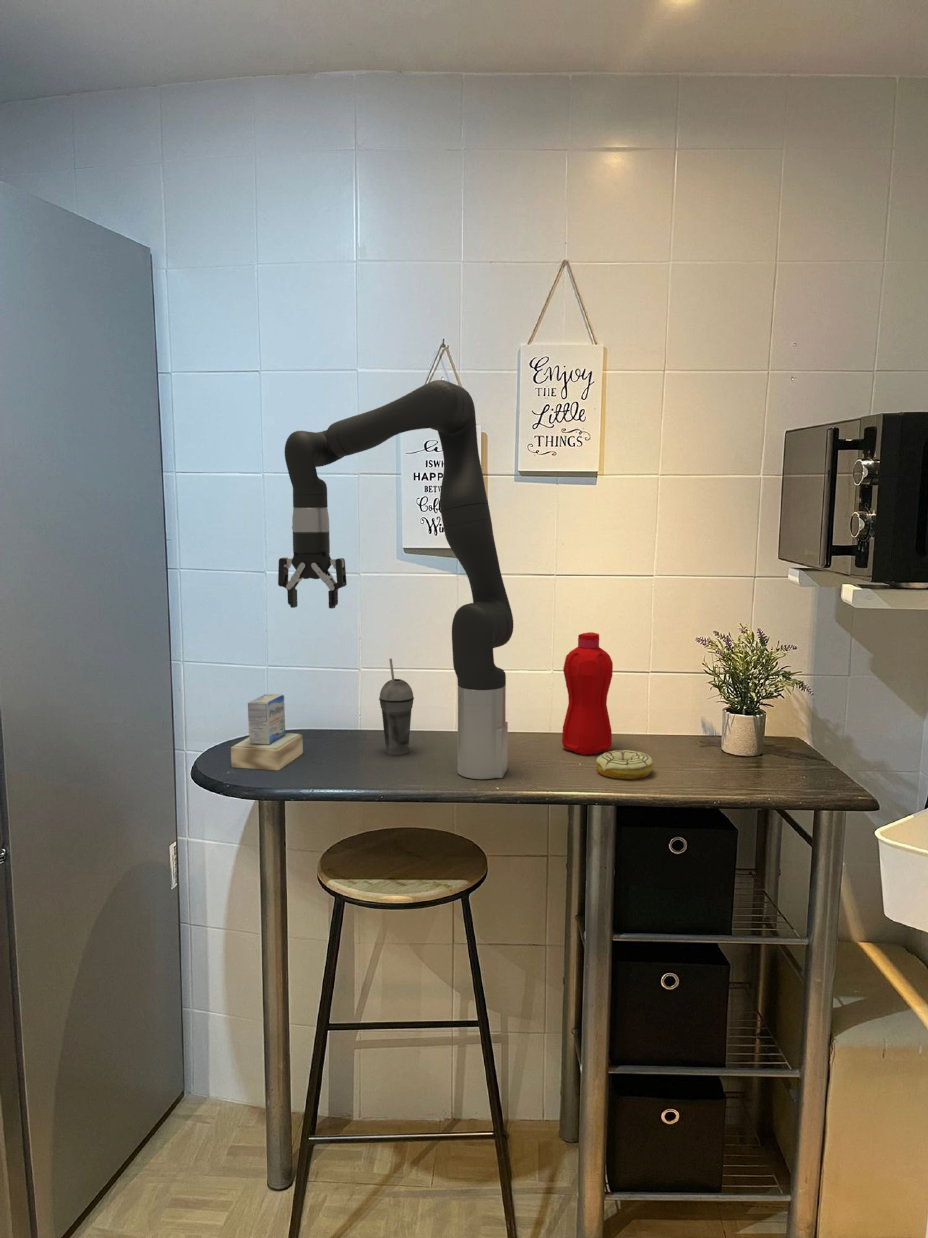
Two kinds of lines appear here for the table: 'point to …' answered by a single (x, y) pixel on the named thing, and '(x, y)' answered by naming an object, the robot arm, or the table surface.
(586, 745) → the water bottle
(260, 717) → the medicine box
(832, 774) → the table surface
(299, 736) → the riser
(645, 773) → the decorated donut
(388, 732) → the beverage cup
